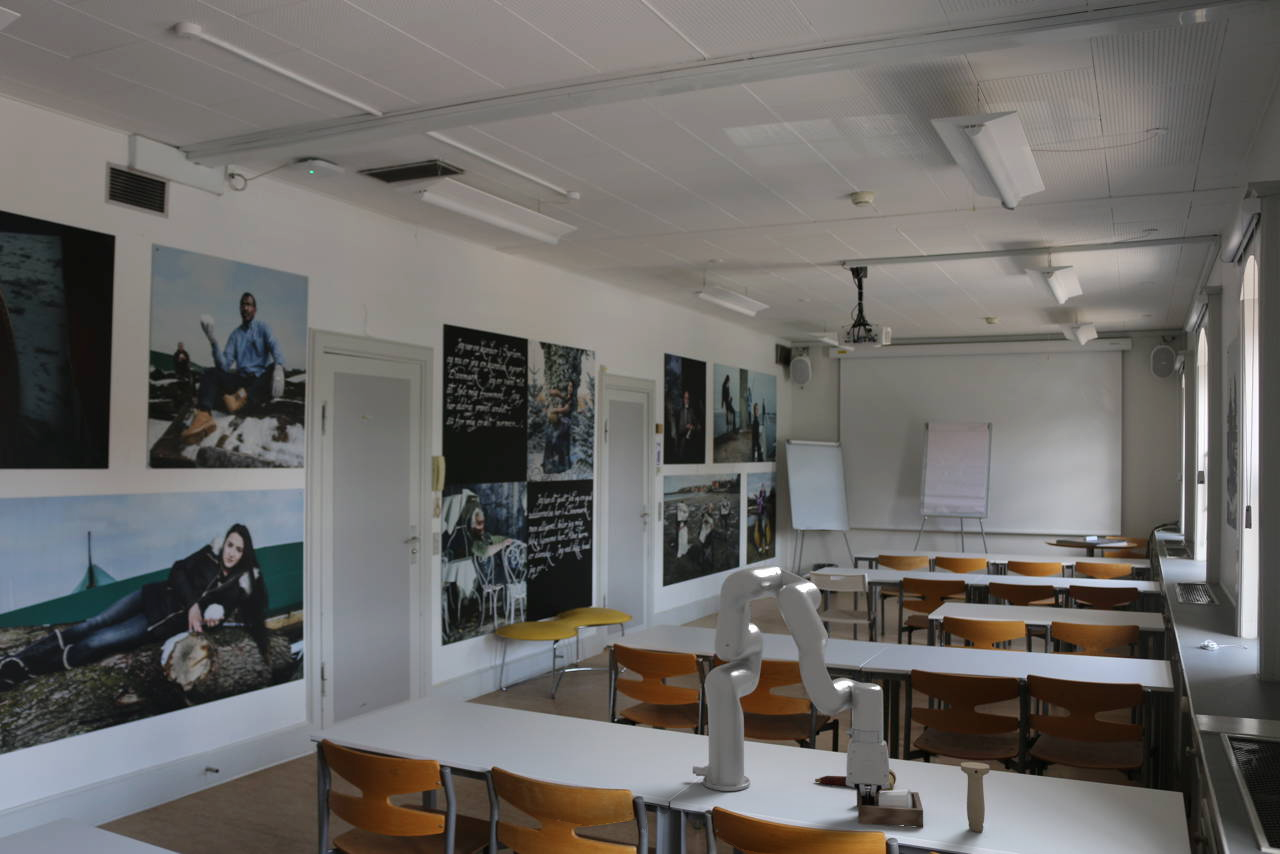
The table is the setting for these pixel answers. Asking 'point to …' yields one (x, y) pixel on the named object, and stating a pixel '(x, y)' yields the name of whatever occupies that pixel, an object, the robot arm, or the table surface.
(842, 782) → the gavel
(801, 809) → the table surface
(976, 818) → the handle
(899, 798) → the white short tapered cylinder
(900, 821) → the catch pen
